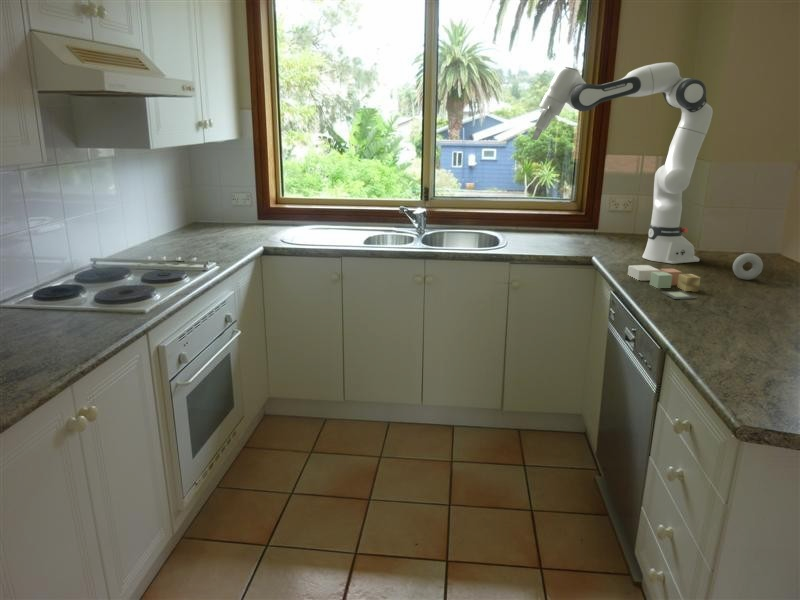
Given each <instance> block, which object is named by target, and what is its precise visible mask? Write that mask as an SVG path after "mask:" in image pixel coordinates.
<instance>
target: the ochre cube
mask: <svg viewBox="0 0 800 600" xmlns="http://www.w3.org/2000/svg"><path fill="white" fill-rule="evenodd" d="M701 279H702V278H701V276H698V275H696V274H693V273H681V274H679V276H678V282H677V285H676V288H677V287H678V288H680V289H682V290H681V291H683V290H684V291H683V292H685V291H692V292H699V290H700V284H701ZM678 288H677V289H678ZM680 289H679V290H680Z"/></svg>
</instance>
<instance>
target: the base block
mask: <svg viewBox="0 0 800 600" xmlns="http://www.w3.org/2000/svg"><path fill="white" fill-rule="evenodd" d="M660 270H661V269H659V268H656V267H654V266H651V265H650V264H640V265H639V264H634V265H628V269H627V276H628V275H629V277H630V276H631V278H632V277H633V278H632V279H634V278H635V279H634V280H636V279H637V280H636V281H638V280H640V281H650V278H651V272H660Z"/></svg>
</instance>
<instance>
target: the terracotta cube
mask: <svg viewBox="0 0 800 600" xmlns="http://www.w3.org/2000/svg"><path fill="white" fill-rule="evenodd" d="M659 270H660V272H666V273H669V274H671V275H672V282H671V286H677V282H678V276H679V274H682V271H681V270H678V269H676V268H660V269H659Z"/></svg>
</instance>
